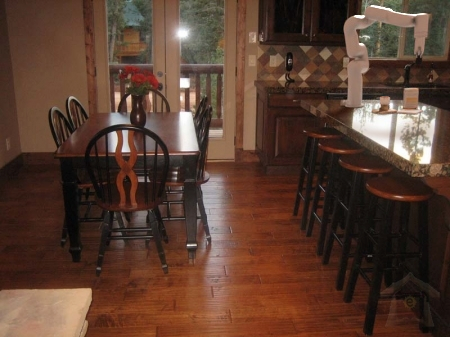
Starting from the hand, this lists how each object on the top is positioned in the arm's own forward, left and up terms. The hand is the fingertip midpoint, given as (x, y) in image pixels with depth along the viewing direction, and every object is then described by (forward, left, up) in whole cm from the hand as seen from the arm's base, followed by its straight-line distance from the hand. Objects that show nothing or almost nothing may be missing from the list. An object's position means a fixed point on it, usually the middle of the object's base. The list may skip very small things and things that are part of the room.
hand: (418, 63), depth 285 cm
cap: (-15, -12, -24) cm, 31 cm away
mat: (-1, -8, -29) cm, 30 cm away
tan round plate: (-15, -12, -29) cm, 35 cm away
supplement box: (-6, +8, -29) cm, 31 cm away
